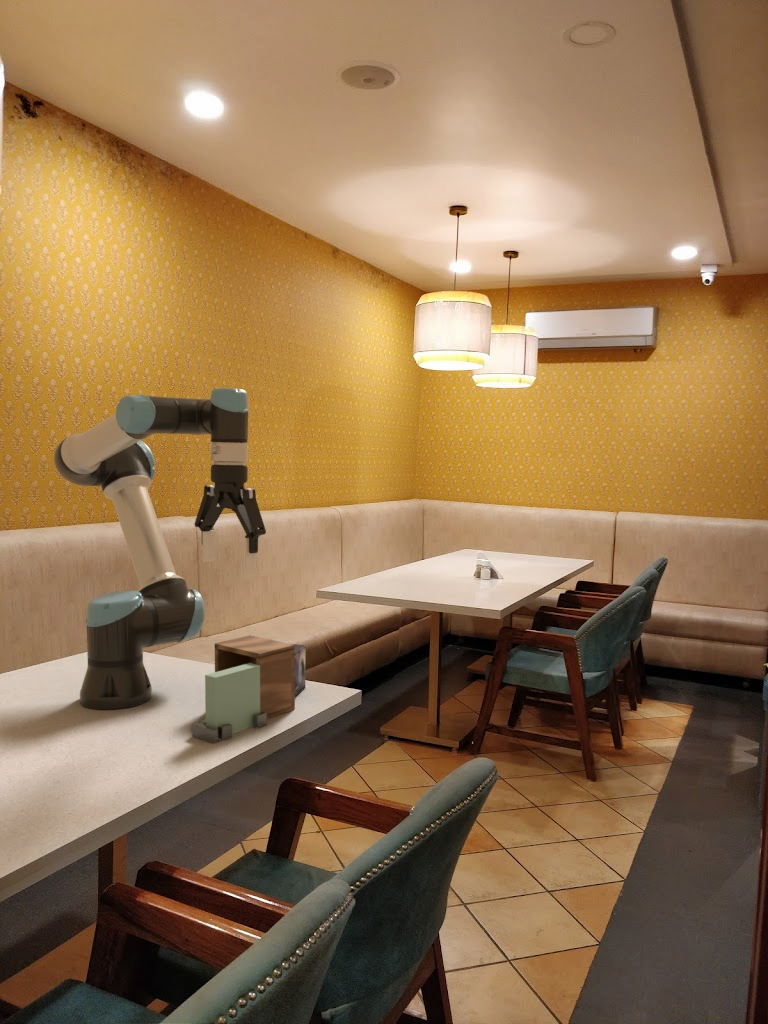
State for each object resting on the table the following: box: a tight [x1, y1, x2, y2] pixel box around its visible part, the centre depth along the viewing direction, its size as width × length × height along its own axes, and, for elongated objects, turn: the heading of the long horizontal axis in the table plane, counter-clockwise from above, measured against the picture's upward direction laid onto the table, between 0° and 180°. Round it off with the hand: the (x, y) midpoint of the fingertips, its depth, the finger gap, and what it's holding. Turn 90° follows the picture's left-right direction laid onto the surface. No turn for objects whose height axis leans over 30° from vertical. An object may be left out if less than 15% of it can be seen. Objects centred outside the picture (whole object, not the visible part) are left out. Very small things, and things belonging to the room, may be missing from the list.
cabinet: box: [214, 634, 296, 720], centre depth 173 cm, size 14×10×14 cm
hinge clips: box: [191, 712, 268, 745], centre depth 160 cm, size 6×14×2 cm, turn 142°
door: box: [204, 663, 260, 734], centre depth 160 cm, size 3×12×12 cm, turn 142°
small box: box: [292, 643, 307, 698], centre depth 184 cm, size 11×6×10 cm, turn 168°
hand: (228, 565), depth 170 cm, fingers open, 13 cm apart
